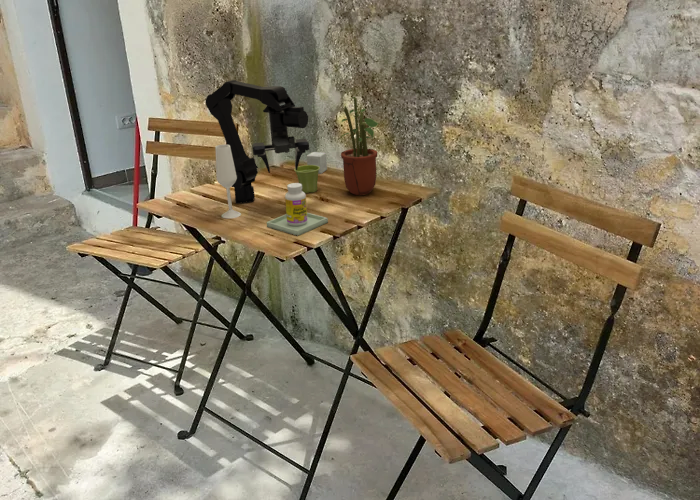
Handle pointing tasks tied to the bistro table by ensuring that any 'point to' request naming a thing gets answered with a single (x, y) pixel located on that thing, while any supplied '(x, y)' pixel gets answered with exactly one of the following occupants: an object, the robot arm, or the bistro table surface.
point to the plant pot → (308, 177)
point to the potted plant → (359, 156)
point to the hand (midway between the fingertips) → (282, 171)
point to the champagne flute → (226, 175)
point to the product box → (317, 160)
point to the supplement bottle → (296, 205)
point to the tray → (282, 225)
